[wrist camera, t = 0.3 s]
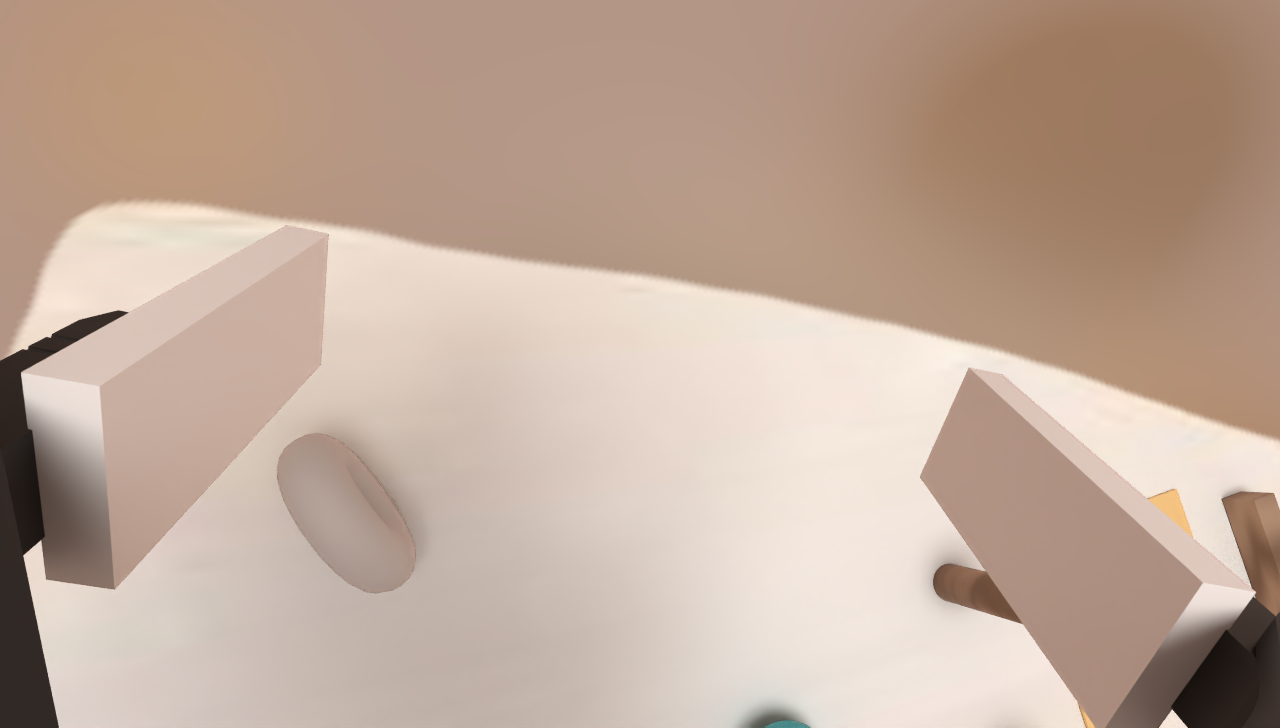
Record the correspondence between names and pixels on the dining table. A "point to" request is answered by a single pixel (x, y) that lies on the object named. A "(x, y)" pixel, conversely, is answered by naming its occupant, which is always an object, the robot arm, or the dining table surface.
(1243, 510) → the brown rectangular bar
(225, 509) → the dining table surface
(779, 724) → the ball
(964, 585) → the post
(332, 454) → the donut
